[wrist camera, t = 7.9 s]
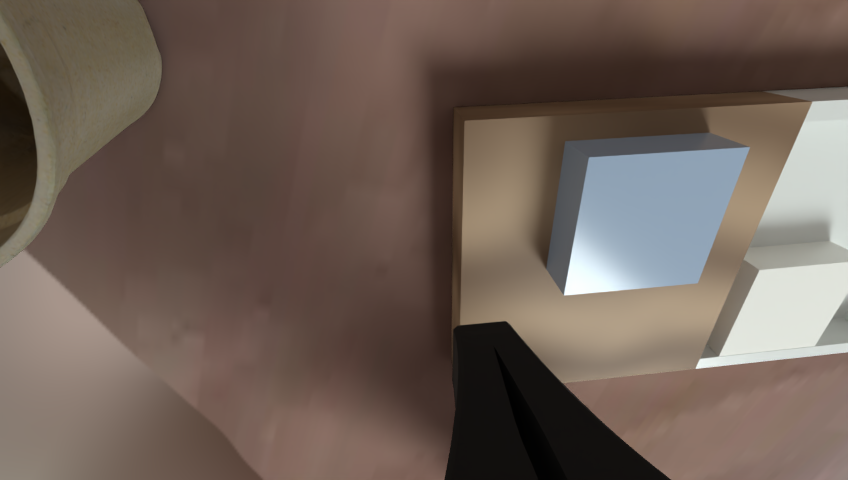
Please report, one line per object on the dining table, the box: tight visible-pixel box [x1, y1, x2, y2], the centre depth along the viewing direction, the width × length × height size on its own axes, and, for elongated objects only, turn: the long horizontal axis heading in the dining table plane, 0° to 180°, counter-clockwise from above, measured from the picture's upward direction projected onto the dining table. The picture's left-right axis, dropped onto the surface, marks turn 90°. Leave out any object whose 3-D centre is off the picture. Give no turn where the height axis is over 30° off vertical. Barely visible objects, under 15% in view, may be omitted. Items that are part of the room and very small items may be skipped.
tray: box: [696, 87, 848, 369], centre depth 21 cm, size 15×12×2 cm
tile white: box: [707, 241, 848, 356], centre depth 23 cm, size 6×6×2 cm
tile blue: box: [546, 133, 750, 295], centre depth 16 cm, size 6×6×2 cm
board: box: [451, 91, 812, 383], centre depth 20 cm, size 15×14×2 cm
